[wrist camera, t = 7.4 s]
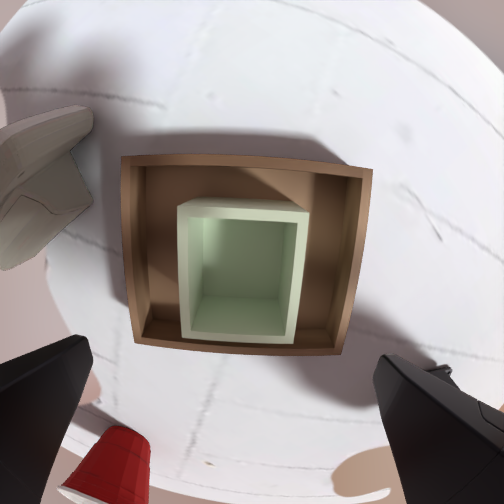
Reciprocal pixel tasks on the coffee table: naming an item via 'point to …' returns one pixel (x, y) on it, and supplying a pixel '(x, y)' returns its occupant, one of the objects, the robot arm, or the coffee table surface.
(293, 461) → the coffee table surface
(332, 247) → the big crate
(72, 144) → the digital clock
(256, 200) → the small crate
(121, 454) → the plastic cup
